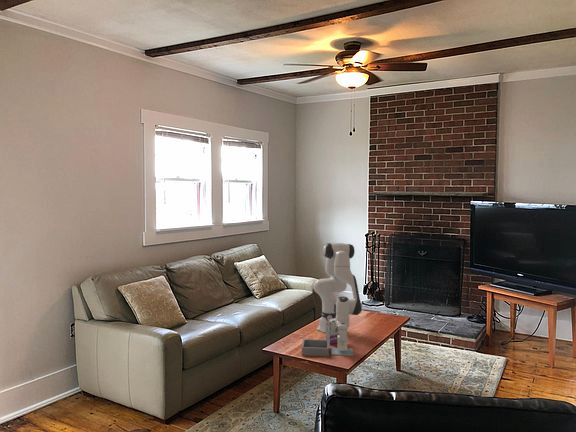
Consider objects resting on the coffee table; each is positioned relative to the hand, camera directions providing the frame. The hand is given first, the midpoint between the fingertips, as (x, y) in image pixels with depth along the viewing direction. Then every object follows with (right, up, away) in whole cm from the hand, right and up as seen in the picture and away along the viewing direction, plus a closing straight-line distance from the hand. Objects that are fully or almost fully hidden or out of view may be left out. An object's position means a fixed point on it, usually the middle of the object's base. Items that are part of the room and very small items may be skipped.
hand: (342, 343), depth 290 cm
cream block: (0, -3, 0) cm, 3 cm away
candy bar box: (-4, -5, +18) cm, 19 cm away
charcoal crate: (-17, -5, +1) cm, 18 cm away
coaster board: (0, -6, 0) cm, 6 cm away
